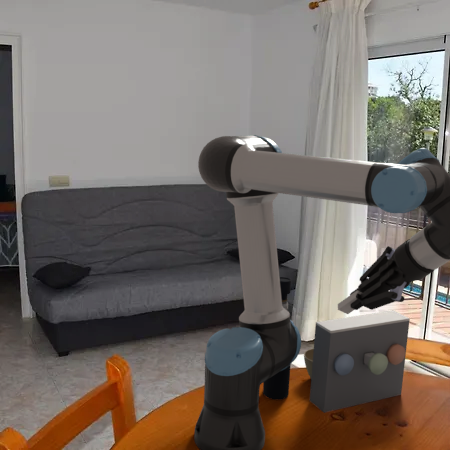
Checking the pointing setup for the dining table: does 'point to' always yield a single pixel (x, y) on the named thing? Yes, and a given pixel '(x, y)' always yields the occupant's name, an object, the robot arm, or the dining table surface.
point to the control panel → (356, 359)
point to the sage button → (376, 362)
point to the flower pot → (309, 360)
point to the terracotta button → (395, 354)
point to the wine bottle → (280, 381)
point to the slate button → (343, 364)
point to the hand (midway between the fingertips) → (342, 309)
